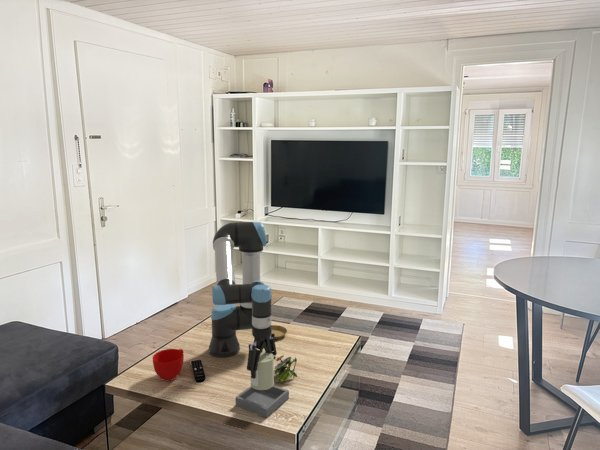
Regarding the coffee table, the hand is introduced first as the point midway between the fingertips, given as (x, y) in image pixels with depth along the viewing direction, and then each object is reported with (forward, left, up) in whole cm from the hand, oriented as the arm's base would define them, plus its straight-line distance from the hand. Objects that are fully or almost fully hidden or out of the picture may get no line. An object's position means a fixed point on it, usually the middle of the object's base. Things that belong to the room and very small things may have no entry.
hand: (262, 379), depth 170 cm
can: (0, 0, -2) cm, 2 cm away
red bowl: (-47, -5, -10) cm, 48 cm away
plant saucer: (-33, +53, -10) cm, 63 cm away
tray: (0, 0, -10) cm, 10 cm away
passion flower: (-3, +21, -10) cm, 23 cm away
